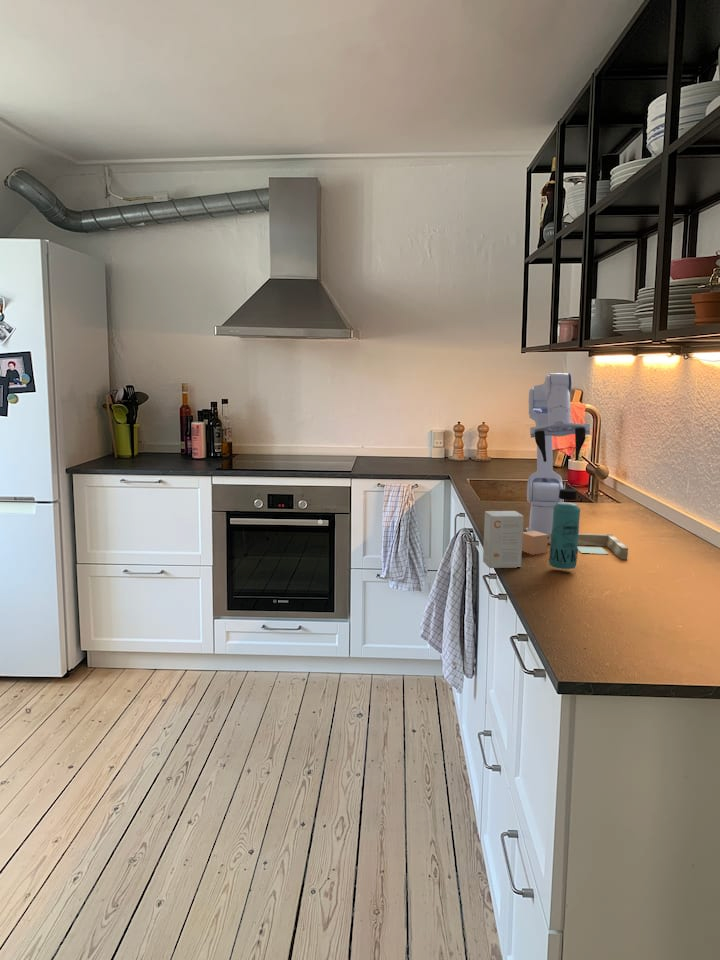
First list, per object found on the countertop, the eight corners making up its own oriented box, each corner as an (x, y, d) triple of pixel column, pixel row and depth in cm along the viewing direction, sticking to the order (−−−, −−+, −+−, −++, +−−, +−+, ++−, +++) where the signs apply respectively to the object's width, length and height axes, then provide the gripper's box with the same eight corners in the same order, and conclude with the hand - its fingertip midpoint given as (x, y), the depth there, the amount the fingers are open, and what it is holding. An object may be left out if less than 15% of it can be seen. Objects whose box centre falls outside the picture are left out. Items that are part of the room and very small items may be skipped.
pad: (575, 546, 196) (575, 546, 196) (601, 547, 196) (601, 547, 196) (581, 553, 189) (581, 552, 189) (608, 554, 189) (608, 553, 189)
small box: (513, 561, 181) (516, 510, 179) (521, 568, 175) (524, 515, 173) (481, 561, 180) (484, 510, 178) (488, 568, 174) (491, 515, 172)
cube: (519, 550, 191) (520, 532, 191) (533, 548, 194) (534, 530, 193) (532, 555, 187) (533, 536, 186) (546, 553, 190) (547, 534, 189)
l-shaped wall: (548, 542, 200) (549, 532, 200) (611, 545, 199) (611, 534, 198) (559, 557, 185) (560, 545, 185) (627, 559, 184) (628, 548, 184)
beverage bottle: (542, 569, 174) (547, 487, 171) (564, 566, 177) (570, 486, 174) (560, 576, 168) (565, 492, 165) (582, 573, 171) (588, 491, 168)
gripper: (529, 406, 183) (529, 452, 177) (588, 402, 179) (591, 449, 173) (530, 421, 189) (531, 466, 183) (588, 417, 185) (591, 463, 179)
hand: (560, 459), depth 178 cm, fingers open, 7 cm apart
